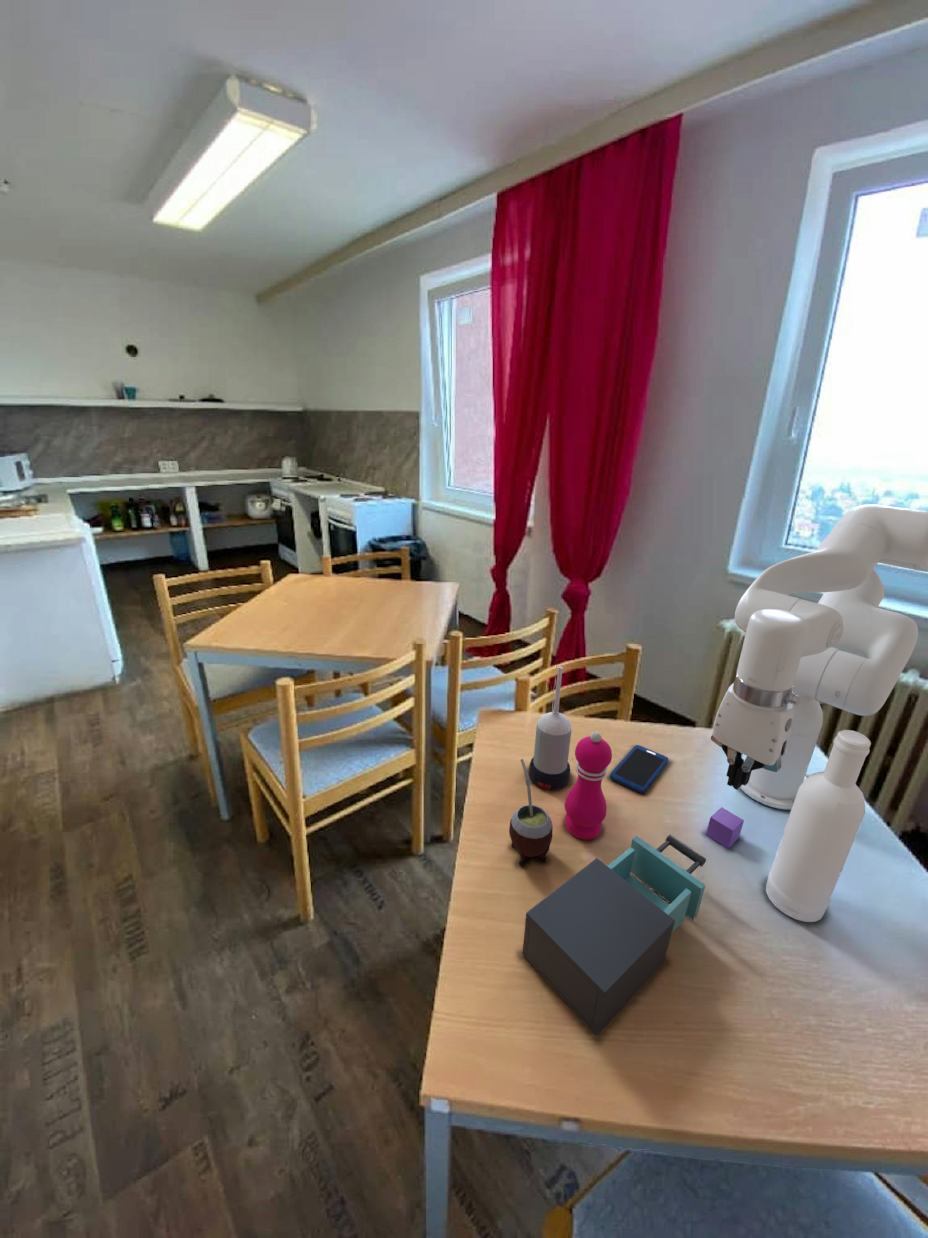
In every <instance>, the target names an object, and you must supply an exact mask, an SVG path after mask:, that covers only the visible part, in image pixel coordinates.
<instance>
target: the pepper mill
mask: <svg viewBox="0 0 928 1238" xmlns="http://www.w3.org/2000/svg"><path fill="white" fill-rule="evenodd" d="M574 756H575V759H576V765H575V772H576V773H577V779H576V782H575V783H574V784H573V786H572V788H571V789H570V790H569V791H568V793H567V795H566V797H565V800H564V811H565V813H566V814H565V819H564V825H565V829H566V830H567V831H568V833H569V834H570V835H572V836H573V837H575V838H577V839H581V840H587V841H588V840H593V839H595V838H597V837H598V836H599V835H600V834H601V830H602V826H603V825H602V824H603V821H605V819H606V817H607V815H608V814H607V811H608V806H607V801H606V797H605V795H604V792H603V790H602V782H603V779H605V778H606V775H607V770H608V767H609V765H610V764H611V762H612V759H613V752H612V748H611V746H610V744H609V743H608V742H607V741H606V740H605V739H603V738H602V735H601V733H600V732H599V731H592V732H591V733H590V735H589V736H585V737H583V738H581V739H580V740H579V741H578V742H577V744H576V745H575V749H574Z"/></svg>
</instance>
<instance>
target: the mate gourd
mask: <svg viewBox="0 0 928 1238" xmlns="http://www.w3.org/2000/svg"><path fill="white" fill-rule="evenodd" d="M519 760H520V763H521V766H522V770H523V772H524V776H525V786H526V791H527V792H526V793H527V800H528V804H526V805H522V806H521V807H519V808H517V809H516V810H515V811H514V813H513V814H512V815H511V818H510V821H509V827H508V828H509V829H508V833H509V838H510V840H511V847H512V848H513V849H515V850H516V851H517V852H518V853H519V858H520V860H519V861H518V865H519V866H520V867H524V866H525V864H526V863H527V862H528V859H529V858H533V859H535V860H538V861H539V862H542V863H546V862H547V857H546V856H547V855H548V853H549V851H550V847H551V844H552V840H553V831H554V830H553V827H554V826H553V820H552V819H551V817H550V815H549V813H548V812H547V811H546V810H544V808H542V807H540V806H538V805H535V804H533V801H532V792H531V791H532V790H531V784H532V781H531V780H530V778H529V771H528V769H527V765H526V764H525V760H524V759H523V758H521V759H519Z"/></svg>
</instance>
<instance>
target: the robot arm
mask: <svg viewBox="0 0 928 1238" xmlns="http://www.w3.org/2000/svg"><path fill="white" fill-rule="evenodd" d="M878 564H883V565H887V566H893V567H899V568H903V569H908V570H914V571H919V572H924V573H928V510H923V509H913V508H907V507H899V506H892V505H882V504H862V505H857V506H854V507H852V508H851V509H849V510H847V511H846V512H845V513H844V514H843V515H842V517H841V518H840V519H839V520H838V522H837V523H836V524H835V525H834V527H833V528H832V529H831V530H830V532H829V533H828V534H827V536H826V537H825V538H824V539H823V540H822V541H821V542H820V544H819V545H818V547H817V548H816V549H815V551H812V552H808V553H803V554H799V555H797V556H794V557H791V558H788V559H785V560H782V561H780V562H777V563H775V564H773V565H771V566H769V567H767V568H766V569H764V570H763V571H762V572H761V573H760V574H758V576H757V577H756V578H755V580H754V581H753V582H752V583H751V584H750V586H748V588H747V589H746V590H745V592H744V593H743V594H742V596H741V597H740V599H739V601H738V602H737V605H736V607H735V611H734V621H735V624H736V626H737V627H738V628H739V629H740V630H741V631H742V632H744V633H745V635H744V639H743V643H742V648H741V652H740V655H739V660H738V664H737V667H736V673H735V677H734V681H733V683H731V684H730V686H729V687H728V688H727V690H726V692H725V694H724V696H723V698H722V700H721V702H720V705H719V707H718V710H717V712H716V716H715V718H714V722H713V725H712V729H711V733H712V734H711V736H710V740H711V741H712V742H713V743H714V744H716V745H717V746H718V747H720V748H721V750H722V752H724V754H725V756H726V762H727V763H728V768H727V771H726V777H728V779H727V784H726V785H727V786H728V787H732V788H733V789H735V790H736V791H738V789H741V791H742V792H743V793H744V794H746V795H747V796H749V798H751V799H752V800H754V801H756V802H758V803H760V804H762V805H765V806H768V807H770V808H775V809H777V810H778V809H779V810H786V811H787V810H788V811H791V810H792V807H793V804H794V801H795V798H796V795H797V792H798V789H799V787H800V785H801V784H802V783H803V782H804V781H805V780H806V779H807V778H808V777H809V776H810V775H811V774H808V773H807V771H808V768H809V766H810V763H811V760H812V757H813V754H814V751H815V748H816V746H817V743H818V739H819V736H820V734H821V732H822V731H821V730H822V728H823V724H824V713H823V709H822V707H821V704H820V702H821V703H823V704H825V705H829V706H832V707H833V708H837V709H839V710H842V711H845V712H847V713H850V714H854V715H857V716H860V717H861V716H863V717H869V716H872V715H875V714H876V713H878V712H879V711H880V710H881V708H882V707H883V706H884V705H885V703H886V701H887V699H888V698H889V697H890V695H891V692H892V691H893V689H894V687H895V685H896V684H897V682H898V680H899V678H900V676H901V675H902V672H903V670H904V669H905V667H906V665H907V664H908V662H909V660H910V658H911V656H912V654H913V652H914V650H915V648H916V645H917V641H918V637H919V627H918V624H917V623H916V622H915V620H914V619H913V618H911V617H909V616H908V615H905V614H903V613H899V612H897V611H892V610H888V609H884V608H881V607H880V604H881V602H882V601H883V599H884V597H885V595H886V590H885V586H884V584H883V582H882V579H881V578H880V577H879V574H878V573H877V571H876V570H875V568H876V566H877V565H878ZM810 593H811V594H813V593H814V594H815V593H818V594H820V593H823V594H822V596H821V597H820V599H819V600H818V602H814V601H810V600H806V599H802V598H800V597H796V596H792V595H794V594H795V595H797V594H810ZM743 755H744V756H746V757H745V759H744V758H743Z"/></svg>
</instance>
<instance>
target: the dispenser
mask: <svg viewBox="0 0 928 1238" xmlns="http://www.w3.org/2000/svg"><path fill="white" fill-rule="evenodd" d="M524 922H525V923H524V933H523V943H522V953H521V954H522V956H523V957H524V958H525V959H526V960H527V961H528V962H529V963H530V965H531V966H532V967H533V968H534V969H535V970H536V971H537V972H538V974H539V975H540V976H541V977H542V978H543V979H544V980H545V981H546V982H547V984H548V985H549V986H550V987H551V988H552V989H553V990H554V991H555V992H556V994H558V996H560V998H561V999H562V1000H563V1001H564V1002H565V1003H566V1005H567V1006H568V1007H569V1008H570V1009H571V1010H572V1012H574V1013H575V1014H576V1016H577V1017H578V1018H579V1019H580V1020H581V1021H582V1022H583V1023H584V1024H585V1026H586V1027H587V1028H588V1029H589V1030H590V1031H591V1032H592V1033H593V1034H594V1035H595V1037H597V1036H598V1035H599V1034H600V1033H601V1032H602V1031H603V1030H604V1029H605V1028H606V1026H608V1025H609V1023H610V1022H611V1021H612V1020H613V1019H614V1018H615V1017H616V1016H617V1015H618V1014H619V1012H620V1011H621V1010H622V1009H623V1008H624V1007H625V1006H626V1005H627V1004H628V1002H630V1001H631V999H632V998H633V997H634V996H635V995H636V994H637V993H638V992H639V990H640V989H641V988H642V987H643V986H644V985H645V984H646V983H647V982H648V980H649V979H650V978H651V977H652V976H653V975H654V974H655V973H656V972H657V971H658V970H659V969H660V967H662V966H663V964H664V963H665V961H666V957H667V954H668V949H669V945H670V942H671V939H672V938H671V937H672V934H673V933H672V930H673V927H674V923H675V920H674V919H673V918H671V917H670V916H669V915H668V914H666V913H665V912H664V911H663V910H661V909H660V908H659V907H658V906H656V905H655V904H654V903H653V902H651V901H650V900H649V899H648V898H646V897H645V896H644V895H643V894H641V893H640V892H639V891H638V890H636V889H635V888H634V887H633V886H631V885H630V884H629V883H628V882H626V881H625V880H624V879H623V878H621V877H620V876H619V875H618V874H616V873H615V872H614V871H613V870H611V869H610V868H609V867H608V865H606V864H605V863H604V862H603V861H602V860H600V859H599V858H598V857H596V858H595V859H593V860H592V861H591V862H590V863H588V864H587V865H586V866H584V867H583V868H581V870H579V871H578V872H577V873H575V874H574V875H573V876H572V877H570V878H569V879H568V880H566V881H565V882H563V884H561V885H560V886H559V887H557V888H556V889H555V890H553V891H552V892H551V893H550V894H549V895H547V896H546V897H544V899H542V900H540V901H539V902H538V903H537V904H536V905H534V906H533V907H532V908H530V909H529V910H528V911H526V913H525V921H524Z"/></svg>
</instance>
